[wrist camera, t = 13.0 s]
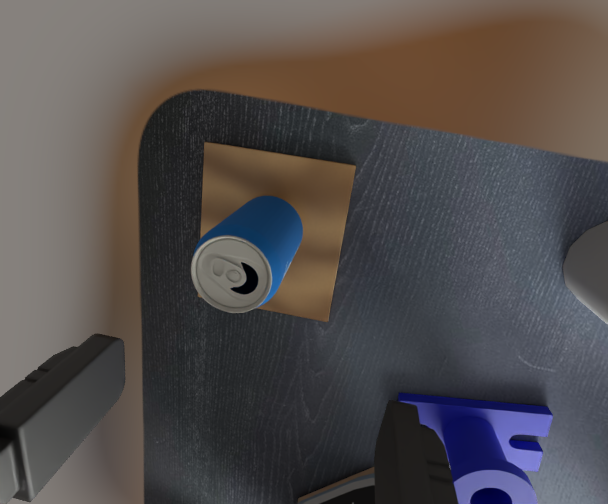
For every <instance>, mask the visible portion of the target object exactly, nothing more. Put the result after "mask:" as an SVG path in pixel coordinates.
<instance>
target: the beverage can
mask: <svg viewBox="0 0 608 504" xmlns="http://www.w3.org/2000/svg"><path fill="white" fill-rule="evenodd" d="M302 237H303V226H302V221H301V218H300V216H299V214H298V213H297V211H296V210H295V209H294V207H293V206H291V205H290V204H289V203H288V202H286V201H285V200H283V199H281V198H278V197H274V196H260V197H256V198H254V199H252V200H250V201H248V202H247V203H246V204H244V205H243V206H242V207H240V208H239V209H238V210H236V211H235V212H234V213H232V214H231V215H230V216H228V217H227V218H226V219H224V220H223V221H222V222H220V223H219V224H218V225H216V226H215V227H214V228H212V229H211V230H210V231H208V232H207V233H206V234H205V235H204V236H203V237H202V238H201V239H200V240H199V242H198V244H197V246H196V248H195V250H194V254H193V259H192V263H191V276H192V280H193V283H194V286H195V288H196V290H197V291H198V293H199V294H200V295H201V297H202V298H203V299H204V300H205V301H207V302H208V303H209V304H210V305H212V306H213V307H215V308H217V309H220V310H222V311H226V312H231V313H243V312H247V311H250V310H253V309H254V308H257V307H259V306H261V305H263V304H265V303H266V302H268V301H269V300H270V299H271V298H272V297H273V296H274V294H275V293H276V291H277V290H278V288H279V286H280V284H281V282H282V280H283V278H284V276H285V274H286V272H287V270H288V268H289V266H290V264H291V262H292V260H293V258H294V256H295V254H296V252H297V250H298V248H299V246H300V243H301V241H302Z"/></svg>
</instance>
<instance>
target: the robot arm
mask: <svg viewBox="0 0 608 504" xmlns="http://www.w3.org/2000/svg"><path fill="white" fill-rule="evenodd" d="M124 356H125V355H124V342H123V340H122V339H120V338H116V337H110V336H106V335H102V334H94V335H92V336H91V337H90V338H88V339H87V340H86V341H85V342H83V343H82V344H81V345H80V346H79V347H71V348H69V349H66V350H64V351H62V352H60V353H58V354H55V355H53V356H52V357H51V358H49V359H48V360H47V361H46V362H45V363H43V364H42V365H41V366H39V367H38V369H37V370H34V371H33V372H32V373H30V374H29V375H28V376H27V377H25V380H22V381H20V382H19V383H18V384H16V385H15V386H14V387H13V388H11V389H10V390H9V391H7V392H6V393H5V394H4V395H3V396H1V397H0V504H7V503H8V502H9V501H10V499H11V498H16V499H20V500H23V501H27V502H31V501H32V500H33V499H34V498H35V496H36V495H37V494H38V493H39V492H40V490H41V489H42V488H43V487H44V486H45V485H46V483H47V482H48V481H49V480H50V479H51V478H52V477H53V475H54V474H55V473H56V472H57V471H58V469H59V468H60V467H61V466H62V465H63V463H64V462H65V461H66V460H67V459H68V458H69V457H70V455H71V454H72V453H73V452H74V451H75V449H76V448H77V447H78V446H79V445H80V444H81V443H82V441H83V440H84V439H85V438H86V437H87V436H88V434H89V433H90V432H91V431H92V430H93V428H94V427H95V426H96V425H97V424H98V423H99V421H100V420H101V419H102V418H103V417H104V416H105V414H106V413H107V412H108V411H109V410H110V409H111V407H112V406H113V405H114V404H115V403H116V402H117V400H118V399H119V397H120V395H121V393H122V391H123V388H124V384H125V357H124ZM374 477H375V504H458V499H457V495H456V491H455V487H454V484H453V478H452V474H451V470H450V468H449V461H448V457H447V453H446V448H445V446H444V444H443V443H442V441H441V439H440V438H439V436H438V435H437V433H436V432H435V430H434V429H431V428H427V427H422V426H420V420H419V414H418V409H417V406H416V405H413V404H409V403H404V402H400V401H395V400H391V399H390V400H389V401H388V403H387V406H386V410H385V413H384V417H383V420H382V424H381V427H380V431H379V434H378V438H377V442H376V447H375V456H374Z"/></svg>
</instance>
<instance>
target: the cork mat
mask: <svg viewBox="0 0 608 504" xmlns="http://www.w3.org/2000/svg"><path fill="white" fill-rule="evenodd" d="M355 169H356V165H352V164H346V163H340V162H333V161H327V160H320V159H314V158H308V157H301V156H295V155H289V154H282V153H276V152H270V151H263V150H257V149H250V148H244V147H238V146H231V145H225V144H219V143H212V142H205V143H204V166H203V189H202V212H201V236H200V239H201V238H202V237H203V236H204V235H205V234H206V233H207V232H208V231H210V230H211V229H212V228H214V227H215V226H216V225H218V224H219V223H220V222H222V221H223V220H224V219H226V218H227V217H228V216H230V215H231V214H232V213H234V212H235V211H236V210H238V209H239V208H240V207H242V206H243V205H244V204H246V203H247V202H248V201H250V200H252V199H254V198H256V197H260V196H274V197H278V198H281V199H283V200H285V201H286V202H288V203H289V204H290V205H291V206H293V207H294V209H295V210H296V211H297V213H298V214H299V216H300V218H301V221H302V226H303V237H302V241H301V243H300V246H299V248H298V250H297V252H296V254H295V256H294V258H293V260H292V262H291V264H290V266H289V268H288V270H287V272H286V274H285V276H284V278H283V280H282V282H281V284H280V286H279V288H278V290H277V291H276V293H275V294H274V296H273V297H272V298H271V299H270V300H269V301H268V302H266V303H265V304H263V305H261V306H259V307H257V308H258V309H263V310H268V311H273V312H278V313H284V314H289V315H294V316H299V317H304V318H309V319H314V320H319V321H324V322H328V318H329V313H330V307H331V302H332V296H333V291H334V285H335V280H336V274H337V269H338V263H339V257H340V252H341V246H342V241H343V235H344V230H345V224H346V219H347V213H348V208H349V202H350V197H351V191H352V186H353V180H354V174H355ZM198 297H201V295H200V294H199V293H198Z"/></svg>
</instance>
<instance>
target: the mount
mask: <svg viewBox="0 0 608 504" xmlns="http://www.w3.org/2000/svg"><path fill="white" fill-rule="evenodd" d="M398 401H400V402H404V403H409V404H413V405H416V406H417V409H418V414H419V420H420V424H425V425H427V428H431V429H434V430H435V432H436V433H437V435H438V436H439V438H440V439H441V441H442V443H443V444H444V446H445V448H446V453H447V457H448V461H449V463H450V467H451V474H452V478H453V484H454V487H455V491H456V495H457V499H458V504H537V497H536V494H535V491H534V489H533V487H532V485H531V483H530V480H529V479H528V477H527V475H526V474H525V473H524V472H523V471H522V470H527V471H535V472H538V470H539V466H540V462H541V459H542V455H543V451H542V449H541V447H540V445H539V443H538V442H529V441H520V440H512V439H510V438H511V437H512V436H514V435H517V434H524V435H533V436H543V437H547V436H548V432H549V429H550V425H551V421H552V417H553V415H552V413H551V412H550V410H549V408H548V407H545V406H535V405H524V404H514V403H503V402H493V401H483V400H472V399H462V398H451V397H441V396H430V395H420V394H409V393H399V395H398Z"/></svg>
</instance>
